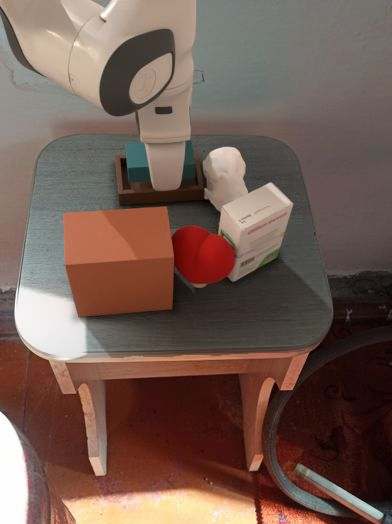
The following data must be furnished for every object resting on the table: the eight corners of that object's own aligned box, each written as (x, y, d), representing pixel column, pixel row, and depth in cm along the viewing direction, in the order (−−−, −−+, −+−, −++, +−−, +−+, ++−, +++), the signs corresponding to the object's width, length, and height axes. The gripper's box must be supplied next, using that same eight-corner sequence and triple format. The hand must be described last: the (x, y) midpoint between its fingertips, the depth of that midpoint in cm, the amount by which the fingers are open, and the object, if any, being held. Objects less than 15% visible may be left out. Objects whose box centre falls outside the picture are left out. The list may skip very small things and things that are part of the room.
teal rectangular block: (128, 182, 85) (127, 167, 82) (126, 158, 87) (125, 143, 84) (194, 178, 86) (195, 164, 83) (190, 155, 88) (191, 140, 85)
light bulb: (238, 279, 81) (247, 235, 72) (216, 315, 78) (223, 273, 69) (182, 253, 83) (184, 206, 74) (158, 287, 80) (157, 243, 71)
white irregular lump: (244, 137, 82) (265, 204, 78) (235, 176, 90) (255, 238, 86) (202, 142, 81) (221, 211, 77) (197, 181, 89) (215, 245, 85)
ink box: (258, 235, 85) (271, 179, 75) (278, 258, 84) (295, 203, 73) (212, 260, 83) (220, 204, 72) (232, 283, 81) (243, 230, 70)
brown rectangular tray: (119, 205, 87) (118, 194, 84) (115, 166, 90) (114, 154, 88) (203, 199, 88) (204, 188, 86) (196, 161, 92) (197, 150, 89)
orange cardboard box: (78, 317, 77) (64, 265, 66) (76, 269, 81) (63, 212, 70) (172, 309, 78) (174, 257, 68) (166, 262, 82) (167, 206, 71)
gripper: (129, 37, 78) (133, 119, 90) (141, 143, 69) (144, 218, 81) (174, 35, 79) (172, 117, 91) (192, 140, 69) (188, 215, 82)
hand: (159, 165), depth 86 cm, fingers closed on teal rectangular block, 5 cm apart
